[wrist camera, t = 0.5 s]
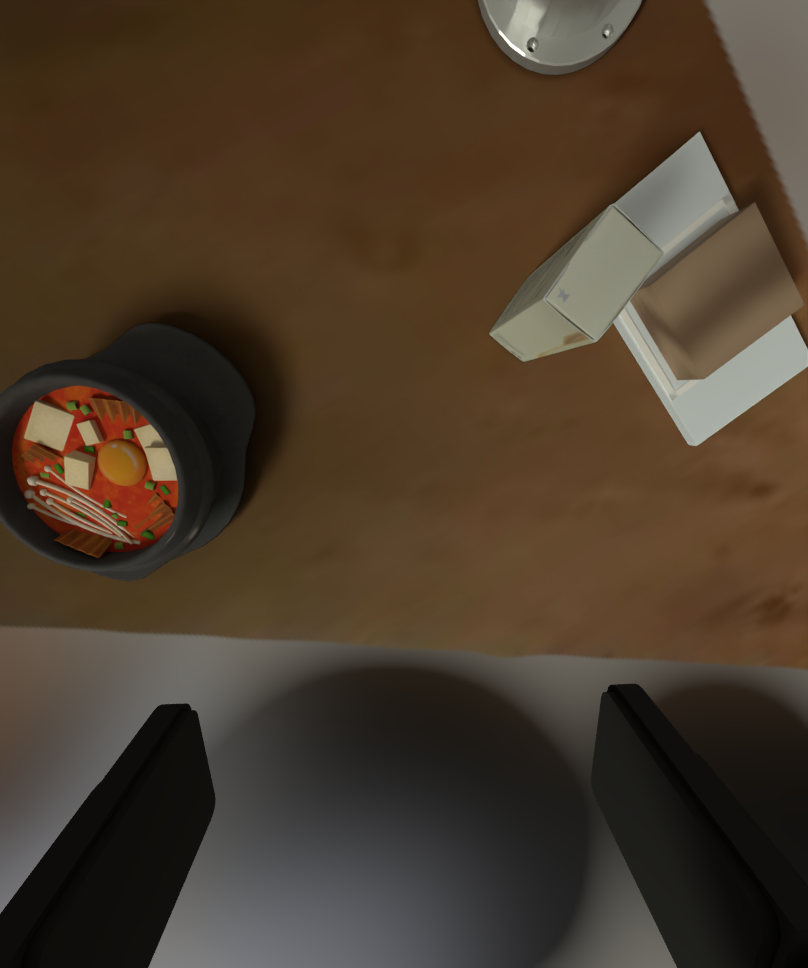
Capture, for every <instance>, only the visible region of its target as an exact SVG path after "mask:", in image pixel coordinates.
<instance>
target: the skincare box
mask: <svg viewBox="0 0 808 968" xmlns="http://www.w3.org/2000/svg"><path fill="white" fill-rule="evenodd" d="M663 254H664V252H663V251H662V250H661V249H660V248H659V247H658V246H657V245H656V244H655V243H654V242H653V240H652V239H651V238H650V237H649V236H648V235H647V234H646V233H645V232H644V231H643V230H642V229H641V228H640V227H639V226H638V225H637V224H636V223H635V222H634V221H633V220H632V219H631V218H630V217H629V216H628V215H627V214H626V213H625V212H624V211H623V210H621V209H620V208H619V207H618V206H617V205H616V204H611V205H609V206H608V207H607V208H606V209H605V210H604V211H603V212H601V213H600V214H599V215H598V216H597V217H596V218H595V219H593V220H592V221H591V222H590V223H589V224H588V225H587V226H586V227H584V228H583V229H582V230H581V231H580V232H579V233H577V234H576V235H575V236H574V237H573V238H572V239H571V240H569V241H568V242H567V243H566V244H565V245H564V246H563V247H561V248H560V249H559V250H558V251H557V252H556V253H555V254H554V255H552V256H551V257H550V258H549V259H548V260H547V261H546V262H544V263H543V264H542V265H541V266H540V267H539V268H538V269H536V270H535V271H534V272H533V273H532V274H531V275H530V276H529V277H528V278H527V280H526V281H525V282H524V284H523V285H522V286H521V288H520V289H519V290H518V292H517V293H516V294H515V296H514V297H513V299H512V300H511V302H510V303H509V304H508V306H507V307H506V309H505V310H504V312H503V313H502V314H501V316H500V317H499V319H498V320H497V322H496V323H495V325H494V327H493V328H492V330H491V331H490V333H489V334H490V335H491V336H492V337H493V338H494V339H495V340H496V341H498V342H499V343H500V344H501V345H502V346H504V347H505V348H506V349H507V350H508V351H510V352H511V353H512V354H514V355H515V356H516V357H518V358H519V359H520V360H522V361H524V362H525V361H529V360H532V359H536V358H539V357H543V356H547V355H550V354H554V353H557V352H561V351H565V350H568V349H572V348H576V347H579V346H583V345H586V344H590V343H594V342H597V341H598V340H599V339H600V337H601V336H602V335H603V334H604V333H605V332H606V330H607V329H608V328H609V327H610V326H611V324H612V323H613V322H614V321H615V319H616V318H617V317H618V316H619V314H620V313H621V312H622V310H623V309H624V308H625V306H626V305H627V304H628V303H629V301H630V300H631V299H632V297H633V296H634V295H635V293H636V292H637V291H638V289H639V288H640V287H641V285H642V284H643V282H644V281H645V280H646V278H647V277H648V276H649V274H650V273H651V271H652V270H653V269H654V267H655V266H656V264H657V263H658V262H659V260H660V259H661V257H662V256H663Z"/></svg>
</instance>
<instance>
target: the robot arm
mask: <svg viewBox="0 0 808 968" xmlns="http://www.w3.org/2000/svg"><path fill="white" fill-rule="evenodd" d="M641 2H642V0H478V3H479V7H480V10H481V14H482V18H483V20H484V22H485V24H486V26H487V28H488V30H489V32H490V34H491V36H492V37H493V39H494V40H495V42H496V43H497V44H498V46H499V47H500V49H501V50H502V51H503V52H504V53H505V54H506V55H508V56H509V57H510V58H511V59H512V60H513V61H514V62H516V63H518V64H519V65H521V66H523V67H524V68H526V69H528V70H531V71H534V72H538V73H541V74H551V75H560V74H566V73H571V72H575V71H577V70H580V69H582V68H585V67H587V66H589V65H591V64H592V63H593V62H595V61H596V60H598V59H599V58H601V57H602V56H603V55H604V54H605V53H607V52H608V51H609V50H610V49H611V48H612V47H613V46H614V45H615V44H616V42H617V41H618V40H619V38H620V37H621V35H622V34H623V33H624V31H625V30H626V28H627V27H628V25H629V24H630V22H631V20H632V19H633V17H634V15H635V14H636V12H637V10H638V9H639V7H640V4H641ZM591 785H592V790H593V793H594V796H595V799H596V801H597V803H598V805H599V807H600V809H601V811H602V813H603V815H604V818H605V820H606V822H607V824H608V826H609V828H610V830H611V832H612V834H613V836H614V838H615V840H616V842H617V844H618V846H619V849H620V851H621V852H622V855H623V856H624V859H625V861H626V863H627V865H628V867H629V869H630V871H631V873H632V875H633V877H634V879H635V881H636V884H637V886H638V888H639V890H640V892H641V894H642V896H643V898H644V900H645V902H646V904H647V906H648V908H649V910H650V912H651V914H652V916H653V919H654V921H655V922H656V925H657V927H658V929H659V931H660V933H661V935H662V937H663V939H664V941H665V943H666V945H667V948H668V949H669V952H670V954H671V956H672V958H673V960H674V962H675V964H676V966H677V968H808V885H807V883H806V882H805V881H804V880H803V879H802V877H801V876H800V875H799V874H798V872H797V871H796V870H795V869H794V868H793V867H792V865H791V864H790V863H789V862H788V860H787V859H786V858H785V857H784V856H783V855H782V853H781V852H780V851H779V850H778V848H777V847H776V846H775V845H774V843H773V842H772V841H771V840H770V839H769V838H768V836H767V835H766V834H765V833H764V831H763V830H762V829H761V828H760V827H759V825H758V824H757V823H756V822H755V821H754V819H753V818H752V817H751V816H750V814H749V813H748V812H747V811H746V810H745V808H744V807H743V806H742V805H741V804H740V802H739V801H738V800H737V799H736V797H735V796H734V795H733V794H732V793H731V791H730V790H729V789H728V788H727V787H726V785H725V784H724V783H723V782H722V781H721V779H720V778H719V777H718V776H717V774H716V773H715V772H714V771H713V770H712V769H711V767H710V766H709V765H708V764H707V763H706V762H705V761H704V759H703V758H701V756H700V755H698V754H697V753H695V752H694V751H693V750H692V749H691V747H690V746H689V745H688V744H687V743H686V742H685V740H684V739H683V738H682V736H681V735H680V734H679V733H678V732H677V730H676V729H675V728H674V727H673V726H672V724H671V723H670V722H669V721H668V720H667V718H666V717H665V716H664V714H663V713H662V712H661V711H660V710H659V708H658V707H657V706H656V705H655V703H654V702H653V701H652V700H651V698H650V697H649V696H648V695H647V694H646V692H645V691H644V690H643V689H642V688H641V687H640V686H639V685H637V684H622V685H621V684H618V685H610V686H609V687H608V690H607V692H603V694H602V696H601V704H600V711H599V719H598V727H597V735H596V742H595V750H594V758H593V766H592V774H591ZM214 807H215V793H214V789H213V783H212V779H211V774H210V770H209V765H208V760H207V756H206V751H205V746H204V741H203V737H202V732H201V727H200V723H199V718H198V714H197V712H196V711H195V710H191V707H190V705H189V704H165V705H160V706H158V707H157V708H156V709H155V710H154V711H153V713H152V714H151V715H150V717H149V718H148V719H147V721H146V722H145V723H144V725H143V726H142V727H141V729H140V730H139V731H138V733H137V734H136V735H135V737H134V738H133V740H132V741H131V742H130V744H129V745H128V746H127V748H126V749H125V750H124V752H123V753H122V754H121V756H120V757H119V758H118V760H117V761H116V763H115V764H114V765H113V766H112V768H111V769H110V771H109V772H108V773H107V775H106V776H105V778H104V779H103V780H102V781H101V782H100V783H99V784H98V785H97V786H96V787H95V789H94V790H93V791H92V792H91V793H90V795H89V796H88V797H87V799H86V800H85V801H84V803H83V804H82V805H81V807H80V808H79V809H78V811H77V812H76V814H75V815H74V816H73V817H72V819H71V820H70V821H69V823H68V824H67V825H66V827H65V828H64V829H63V831H62V832H61V833H60V835H59V836H58V837H57V839H56V840H55V842H54V843H53V844H52V846H51V847H50V848H49V850H48V851H47V852H46V853H45V855H44V856H43V858H42V859H41V860H40V862H39V863H38V864H37V866H36V867H35V868H34V870H33V871H32V872H31V874H30V875H29V876H28V878H27V879H26V880H25V882H24V883H23V884H22V886H21V887H20V888H19V890H18V891H17V893H16V894H15V895H14V896H13V898H12V899H11V900H10V902H9V903H8V904H7V906H6V907H5V908H4V910H3V911H2V912H1V914H0V968H148V967H149V965H150V962H151V960H152V957H153V955H154V953H155V950H156V948H157V946H158V943H159V941H160V938H161V936H162V934H163V931H164V929H165V927H166V924H167V922H168V920H169V917H170V915H171V913H172V910H173V908H174V906H175V903H176V900H177V898H178V896H179V894H180V891H181V889H182V887H183V884H184V882H185V880H186V877H187V875H188V872H189V870H190V868H191V866H192V863H193V861H194V858H195V856H196V854H197V851H198V849H199V847H200V844H201V842H202V840H203V837H204V835H205V833H206V830H207V827H208V825H209V823H210V821H211V818H212V815H213V812H214Z"/></svg>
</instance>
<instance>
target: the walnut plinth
mask: <svg viewBox="0 0 808 968" xmlns="http://www.w3.org/2000/svg"><path fill="white" fill-rule="evenodd" d="M630 302H631V304H632V305H633V307H634V309H635V310H636V312H637V314H638V315H639V317H640V319H641V320H642V322H643V324H644V325H645V327H646V329H647V330H648V332H649V334H650V335H651V337H652V339H653V340H654V342H655V344H656V345H657V347H658V349H659V351H660V352H661V354H662V356H663V357H664V359H665V361H666V362H667V364H668V366H669V367H670V369H671V371H672V372H673V374H674V376H675V377H676V379H677V380H701V379H705V378H707V377H708V376H709V375H711V374H712V373H713V372H715V371H716V370H717V369H719V368H720V367H721V366H723V365H724V364H726V363H727V362H728V361H730V360H731V359H732V358H734V357H735V356H736V355H738V354H739V353H740V352H742V351H743V350H744V349H746V348H747V347H748V346H750V345H751V344H753V343H754V342H755V341H757V340H758V339H759V338H761V337H762V336H763V335H765V334H766V333H767V332H769V331H770V330H771V329H773V328H774V327H775V326H777V325H778V324H779V323H781V322H782V321H784V320H785V319H786V318H788V317H789V316H790V315H792V314H793V313H794V312H796V311H797V310H798V309H800V308H801V307H802V306H804V302H803V300H802V298H801V296H800V294H799V292H798V290H797V288H796V286H795V284H794V282H793V280H792V278H791V276H790V274H789V271H788V269H787V267H786V265H785V263H784V261H783V259H782V257H781V255H780V253H779V251H778V249H777V247H776V245H775V242H774V240H773V238H772V236H771V234H770V232H769V230H768V228H767V226H766V224H765V222H764V220H763V218H762V216H761V214H760V211H759V209H758V207H757V205H756V203H755V202H754V203H752V204H750V205H748V206H746V207H744V208H743V209H741V210H739V211H737V212H735V213H733V214H731V215H729V216H727V217H725V218H723V219H721V220H720V221H719V222H717V223H716V224H715V225H714V226H712V227H711V228H710V229H709V230H707V231H706V232H705V233H704V234H702V235H701V236H700V237H699V238H697V239H696V240H695V241H694V242H692V243H691V244H690V245H689V246H687V247H686V248H685V249H684V250H682V251H681V252H680V253H679V254H677V255H676V256H675V257H674V258H672V259H671V260H670V261H669V262H667V263H666V264H665V265H664V266H662V267H661V268H660V269H659V270H657V271H656V272H655V273H654V274H652V275H651V276H650V277H649V278H647V279H646V280H645V281H644V282H643V284H642V285H641V287H640V288H639V289H638V291H637V292H636V293H635V295H634V296H633V297H632V299H631V300H630Z"/></svg>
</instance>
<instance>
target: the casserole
mask: <svg viewBox="0 0 808 968" xmlns="http://www.w3.org/2000/svg"><path fill="white" fill-rule="evenodd" d="M255 416H256V409H255V403H254V397H253V394H252V393H251V391H250V389H249V387H248V385H247V383H246V381H245V379H244V378H243V377H242V375H241V374H240V373H239V372H238V370H237V369H236V368H235V367H234V365H233V364H232V363H231V362H230V361H229V360H228V359H227V358H226V357H225V356H224V355H222V354H221V353H220V352H219V351H218V350H217V349H216V348H215V347H214V346H212V345H210V344H209V343H207V342H205V341H204V340H202V339H201V338H199V337H197V336H196V335H194V334H192V333H190V332H187V331H185V330H182V329H180V328H177V327H175V326H172V325H167V324H161V323H155V322H151V323H146V324H141V325H136V326H135V327H133V328H132V329H130V330H129V331H128V332H126V333H125V334H124V335H122V336H121V337H120V338H118V339H117V340H116V341H115V342H114V343H113V344H111V345H110V346H109V347H108V348H107V349H105V350H104V351H102V352H100V353H97V354H95V355H93V356H91V357H89V358H87V359H79V360H63V361H59V362H55V363H51V364H46V365H43V366H41V367H39V368H37V369H35V370H33V371H31V372H29V373H27V374H25V375H24V376H23V377H22V378H21V379H20V380H18V381H17V382H16V383H15V384H14V385H12V386H10V387H8V388H7V389H6V390H5V391H3V392H2V393H1V394H0V521H1V522H2V523H3V525H4V526H5V527H6V528H7V529H8V530H9V531H10V532H11V533H12V534H13V535H14V536H15V537H16V538H17V539H18V540H19V541H21V542H22V543H23V544H25V545H26V546H28V547H29V548H31V549H32V550H33V551H35V552H36V553H38V554H40V555H42V556H44V557H46V558H48V559H50V560H52V561H54V562H56V563H59V564H62V565H65V566H69V567H72V568H75V569H81V570H88V571H91V572H93V573H95V574H99V575H102V576H105V577H108V578H111V579H117V580H124V581H132V580H138V579H143V578H145V577H146V576H148V575H149V574H151V573H152V572H154V571H155V570H157V569H158V568H160V567H161V566H163V565H164V564H166V563H167V562H168V561H170V560H172V559H174V558H177V557H179V556H181V555H184V554H186V553H188V552H191V551H193V550H195V549H198V548H200V547H202V546H204V545H206V544H207V543H208V542H210V541H211V540H213V539H214V538H215V537H217V536H218V535H219V534H220V533H221V532H222V531H223V530H224V528H225V527H226V526H227V525H228V524H229V523H230V521H231V520H232V518H233V516H234V514H235V512H236V511H237V509H238V507H239V504H240V501H241V497H242V494H243V491H244V482H245V467H246V450H247V447H248V443H249V440H250V437H251V433H252V429H253V425H254V420H255Z"/></svg>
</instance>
